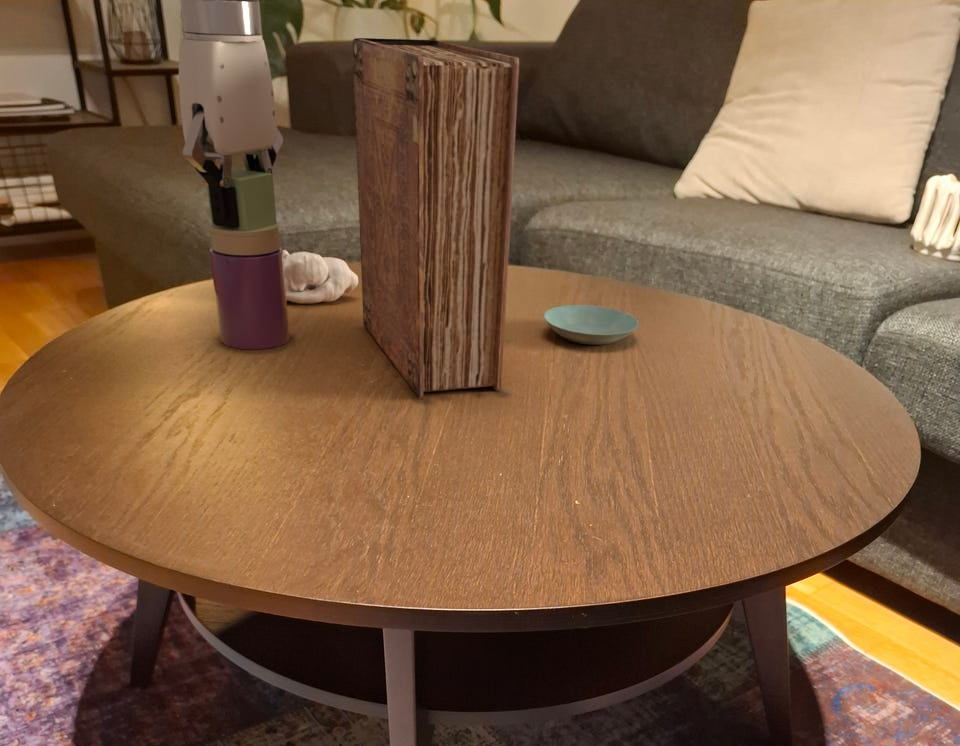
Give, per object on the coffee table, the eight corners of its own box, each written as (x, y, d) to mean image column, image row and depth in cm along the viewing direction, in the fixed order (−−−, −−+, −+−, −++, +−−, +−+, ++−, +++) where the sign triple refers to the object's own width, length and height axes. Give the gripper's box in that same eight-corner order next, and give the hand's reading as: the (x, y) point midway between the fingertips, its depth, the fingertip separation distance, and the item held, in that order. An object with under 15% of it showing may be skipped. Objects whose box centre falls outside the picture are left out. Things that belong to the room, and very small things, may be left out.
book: (501, 392, 96) (520, 58, 78) (418, 400, 93) (418, 55, 75) (433, 321, 115) (436, 40, 97) (362, 325, 112) (352, 37, 95)
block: (211, 225, 98) (205, 174, 95) (241, 217, 102) (236, 168, 99) (247, 231, 97) (242, 179, 94) (276, 223, 100) (272, 173, 97)
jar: (206, 341, 105) (191, 231, 98) (250, 324, 111) (239, 219, 104) (260, 354, 102) (249, 241, 95) (303, 336, 108) (295, 228, 101)
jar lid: (196, 248, 99) (193, 225, 98) (240, 236, 105) (238, 214, 103) (251, 259, 97) (248, 235, 95) (293, 246, 102) (291, 223, 101)
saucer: (646, 331, 115) (648, 313, 114) (622, 358, 106) (625, 339, 105) (558, 317, 119) (560, 299, 117) (528, 342, 110) (530, 323, 108)
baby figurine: (365, 298, 123) (358, 254, 115) (292, 343, 120) (280, 301, 112) (328, 257, 125) (319, 210, 117) (256, 300, 122) (241, 255, 114)
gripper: (248, 19, 96) (265, 205, 107) (129, 20, 84) (162, 230, 94) (305, 23, 93) (317, 213, 104) (191, 25, 81) (218, 241, 92)
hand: (243, 220), depth 99 cm, fingers closed on block, 5 cm apart
